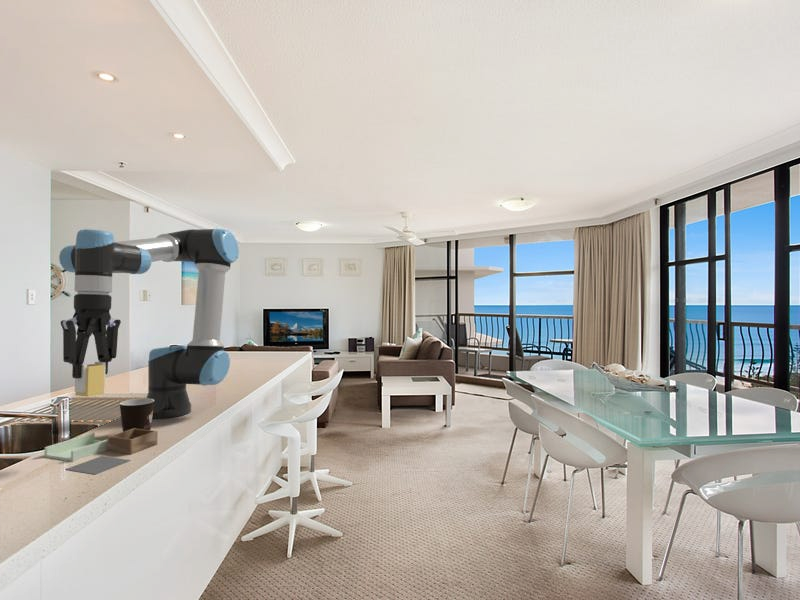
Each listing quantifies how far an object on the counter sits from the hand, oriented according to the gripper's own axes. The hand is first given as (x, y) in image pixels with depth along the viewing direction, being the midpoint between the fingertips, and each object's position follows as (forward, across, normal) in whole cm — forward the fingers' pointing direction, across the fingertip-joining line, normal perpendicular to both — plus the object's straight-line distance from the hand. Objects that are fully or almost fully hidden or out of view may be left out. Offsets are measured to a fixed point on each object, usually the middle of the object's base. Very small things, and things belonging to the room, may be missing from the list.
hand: (90, 389), depth 106 cm
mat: (+18, +1, +5) cm, 18 cm away
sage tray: (+17, -4, -8) cm, 19 cm away
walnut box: (+17, -11, +2) cm, 20 cm away
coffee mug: (+17, -20, -7) cm, 28 cm away
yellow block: (+1, 0, 0) cm, 1 cm away
